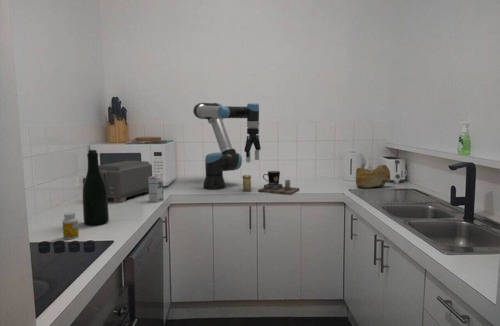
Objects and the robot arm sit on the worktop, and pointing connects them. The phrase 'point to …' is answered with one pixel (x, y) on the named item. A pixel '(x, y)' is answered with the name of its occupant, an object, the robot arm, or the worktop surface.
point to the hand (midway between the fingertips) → (252, 161)
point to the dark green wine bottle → (94, 193)
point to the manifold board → (279, 188)
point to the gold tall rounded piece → (246, 183)
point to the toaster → (126, 179)
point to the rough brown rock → (372, 177)
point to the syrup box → (155, 188)
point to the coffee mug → (273, 176)
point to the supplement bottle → (70, 226)
